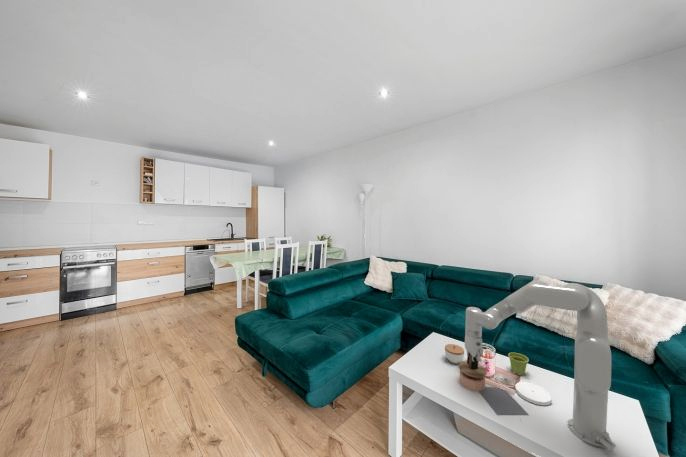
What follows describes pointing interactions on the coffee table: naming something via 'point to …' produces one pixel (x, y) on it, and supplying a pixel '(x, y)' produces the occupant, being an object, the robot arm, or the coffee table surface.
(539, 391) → the plastic lid
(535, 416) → the coffee table surface
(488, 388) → the mat
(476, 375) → the lid
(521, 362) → the plant pot
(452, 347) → the lidded jar
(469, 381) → the bowl
